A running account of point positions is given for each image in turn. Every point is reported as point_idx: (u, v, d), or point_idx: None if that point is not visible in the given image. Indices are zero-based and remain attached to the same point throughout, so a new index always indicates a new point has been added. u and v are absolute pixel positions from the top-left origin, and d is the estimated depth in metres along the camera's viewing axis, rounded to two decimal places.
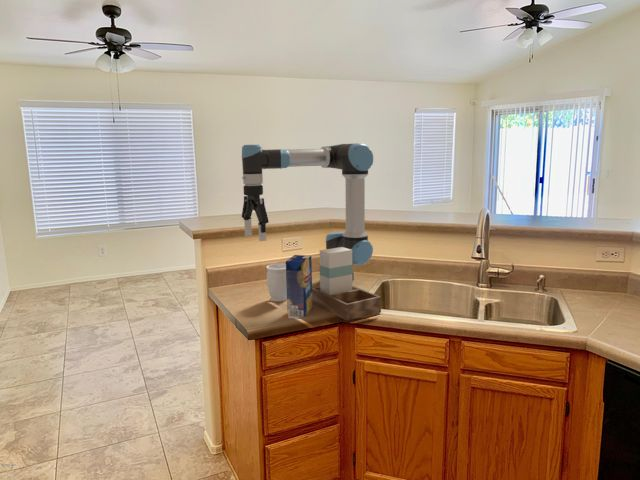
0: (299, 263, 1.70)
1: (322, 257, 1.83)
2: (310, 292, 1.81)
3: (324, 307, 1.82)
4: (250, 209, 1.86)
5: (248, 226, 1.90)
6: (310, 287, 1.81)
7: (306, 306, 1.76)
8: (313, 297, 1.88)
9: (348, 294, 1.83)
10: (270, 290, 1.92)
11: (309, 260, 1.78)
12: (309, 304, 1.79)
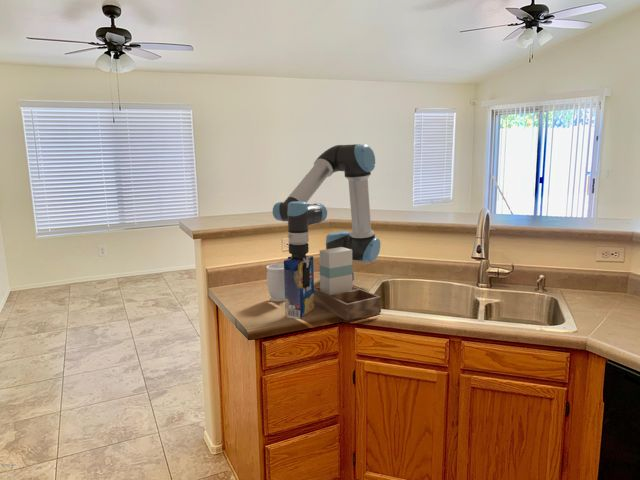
0: (296, 263, 1.70)
1: (322, 257, 1.83)
2: (311, 293, 1.80)
3: (324, 307, 1.82)
4: None
5: None
6: (311, 288, 1.80)
7: (304, 307, 1.75)
8: None
9: (348, 294, 1.83)
10: (270, 290, 1.92)
11: (310, 261, 1.77)
12: (308, 304, 1.79)
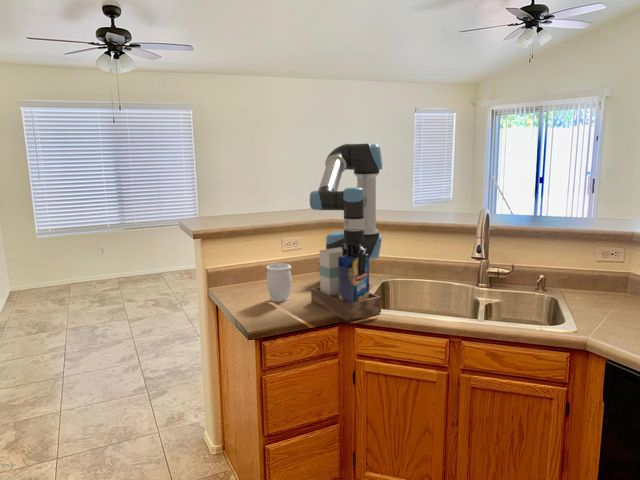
0: (350, 260, 1.69)
1: (322, 257, 1.83)
2: (366, 291, 1.78)
3: (324, 307, 1.82)
4: None
5: None
6: (366, 286, 1.77)
7: None
8: (313, 297, 1.88)
9: None
10: (270, 290, 1.92)
11: None
12: None
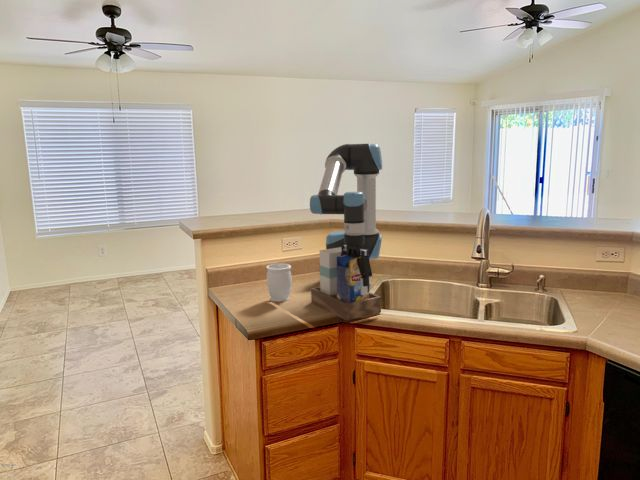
0: (347, 260, 1.69)
1: (322, 257, 1.83)
2: None
3: (324, 307, 1.82)
4: None
5: None
6: None
7: None
8: (313, 297, 1.88)
9: None
10: (270, 290, 1.92)
11: None
12: None
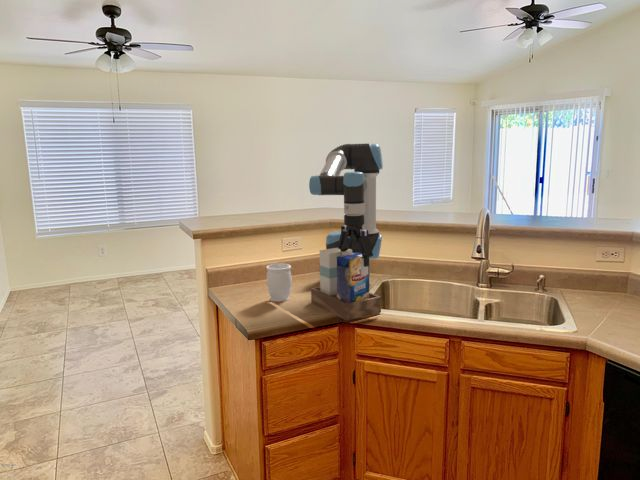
0: (347, 260, 1.69)
1: (322, 257, 1.83)
2: (366, 291, 1.77)
3: (324, 307, 1.82)
4: (349, 239, 1.76)
5: None
6: (365, 286, 1.77)
7: None
8: (313, 297, 1.88)
9: None
10: (270, 290, 1.92)
11: None
12: None
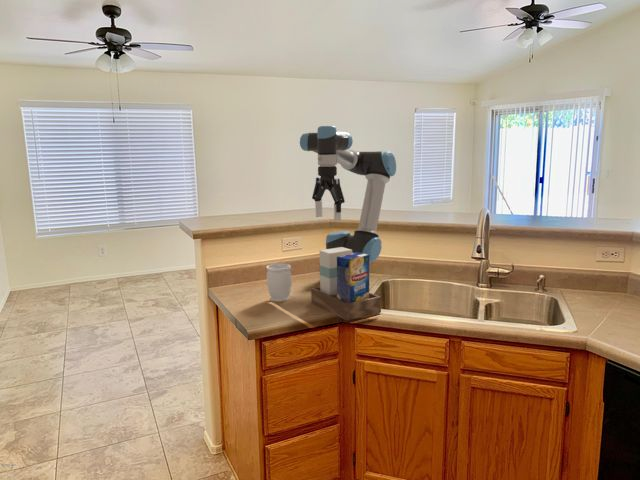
0: (347, 260, 1.69)
1: (322, 257, 1.83)
2: (366, 291, 1.77)
3: (324, 307, 1.82)
4: (322, 190, 1.90)
5: (319, 207, 1.93)
6: (365, 286, 1.77)
7: None
8: (313, 297, 1.88)
9: None
10: (270, 290, 1.92)
11: (364, 259, 1.74)
12: None
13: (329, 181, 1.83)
